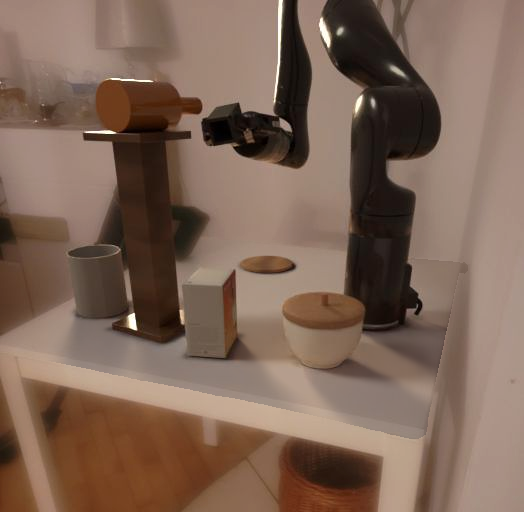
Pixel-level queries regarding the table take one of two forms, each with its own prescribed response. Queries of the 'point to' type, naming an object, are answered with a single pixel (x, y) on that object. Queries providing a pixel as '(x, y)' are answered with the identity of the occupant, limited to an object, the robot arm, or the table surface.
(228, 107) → the dark grey block
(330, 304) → the trinket box
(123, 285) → the cup
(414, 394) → the table surface
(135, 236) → the stand
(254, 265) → the mat
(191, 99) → the bottle
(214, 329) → the small box
